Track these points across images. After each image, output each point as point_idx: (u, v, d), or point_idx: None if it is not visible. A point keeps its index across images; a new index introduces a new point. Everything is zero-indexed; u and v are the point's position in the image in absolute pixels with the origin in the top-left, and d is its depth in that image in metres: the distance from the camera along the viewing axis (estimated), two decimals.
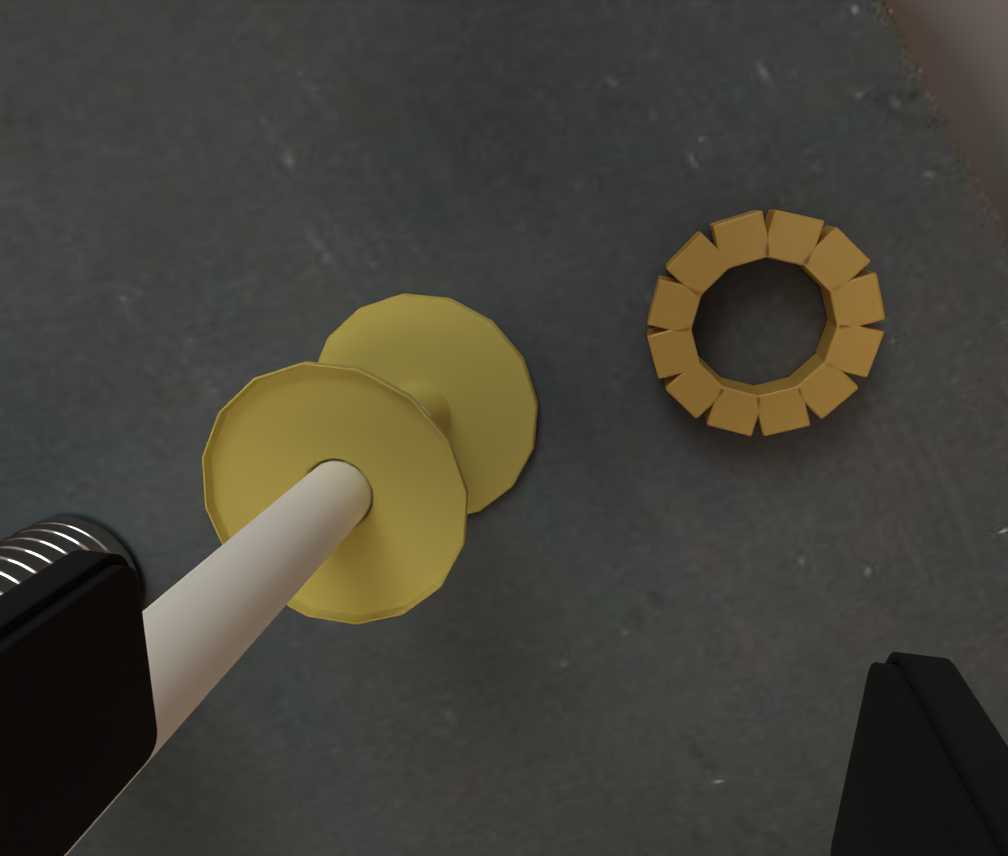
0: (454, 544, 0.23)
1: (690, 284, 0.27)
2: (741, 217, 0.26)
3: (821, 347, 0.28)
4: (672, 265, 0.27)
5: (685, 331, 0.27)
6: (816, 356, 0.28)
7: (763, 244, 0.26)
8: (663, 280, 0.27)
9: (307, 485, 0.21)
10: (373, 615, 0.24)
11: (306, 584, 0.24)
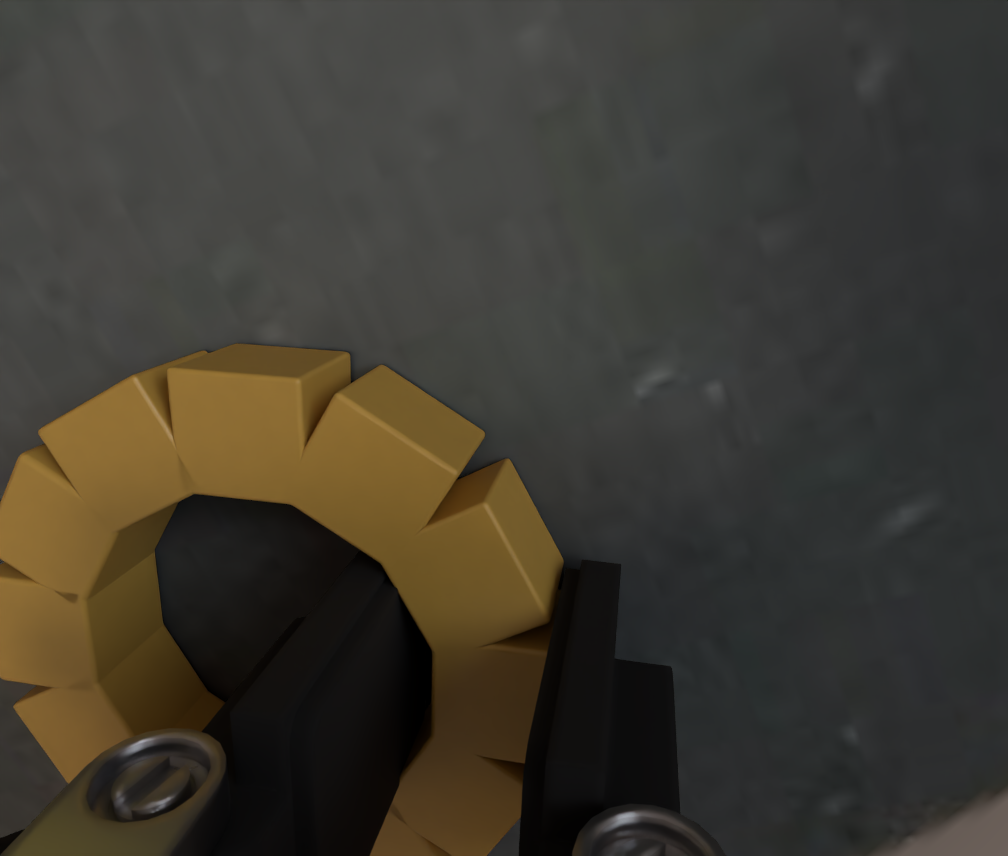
0: None
1: (309, 470, 0.09)
2: (524, 571, 0.09)
3: None
4: (347, 409, 0.08)
5: (182, 479, 0.09)
6: None
7: (463, 639, 0.09)
8: (303, 388, 0.09)
9: None
10: None
11: None
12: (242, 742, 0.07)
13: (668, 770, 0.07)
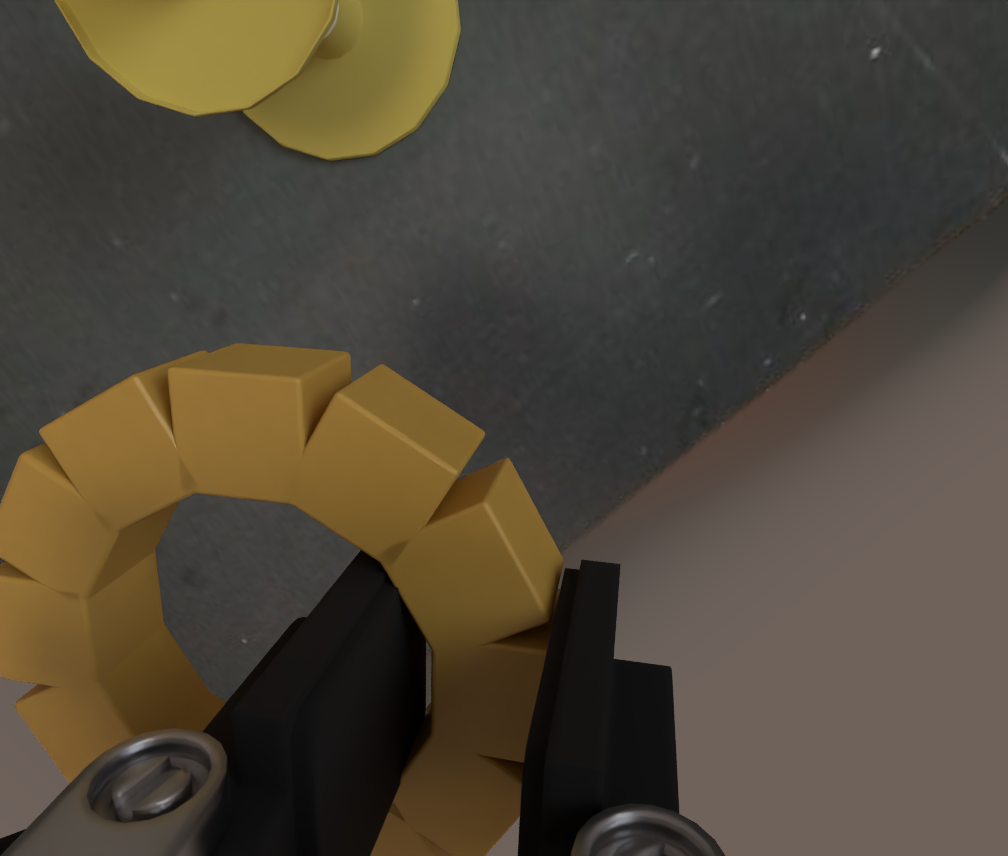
0: (190, 104, 0.21)
1: (310, 469, 0.09)
2: (523, 571, 0.09)
3: None
4: (347, 409, 0.09)
5: (183, 479, 0.09)
6: None
7: (462, 638, 0.09)
8: (303, 388, 0.09)
9: None
10: (73, 19, 0.21)
11: None
12: (243, 742, 0.07)
13: (667, 770, 0.07)
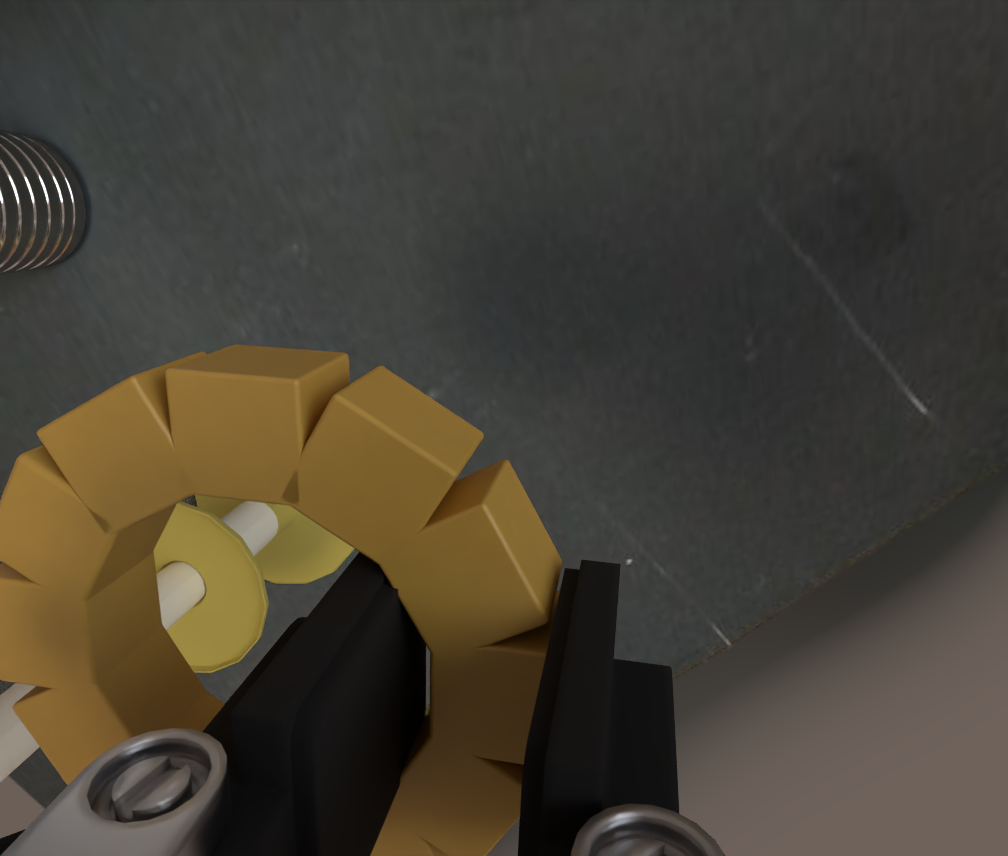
0: None
1: (308, 471, 0.09)
2: (522, 573, 0.09)
3: None
4: (346, 411, 0.08)
5: (181, 481, 0.09)
6: None
7: (461, 641, 0.09)
8: (301, 390, 0.09)
9: (177, 605, 0.31)
10: None
11: None
12: (243, 742, 0.07)
13: (667, 770, 0.07)
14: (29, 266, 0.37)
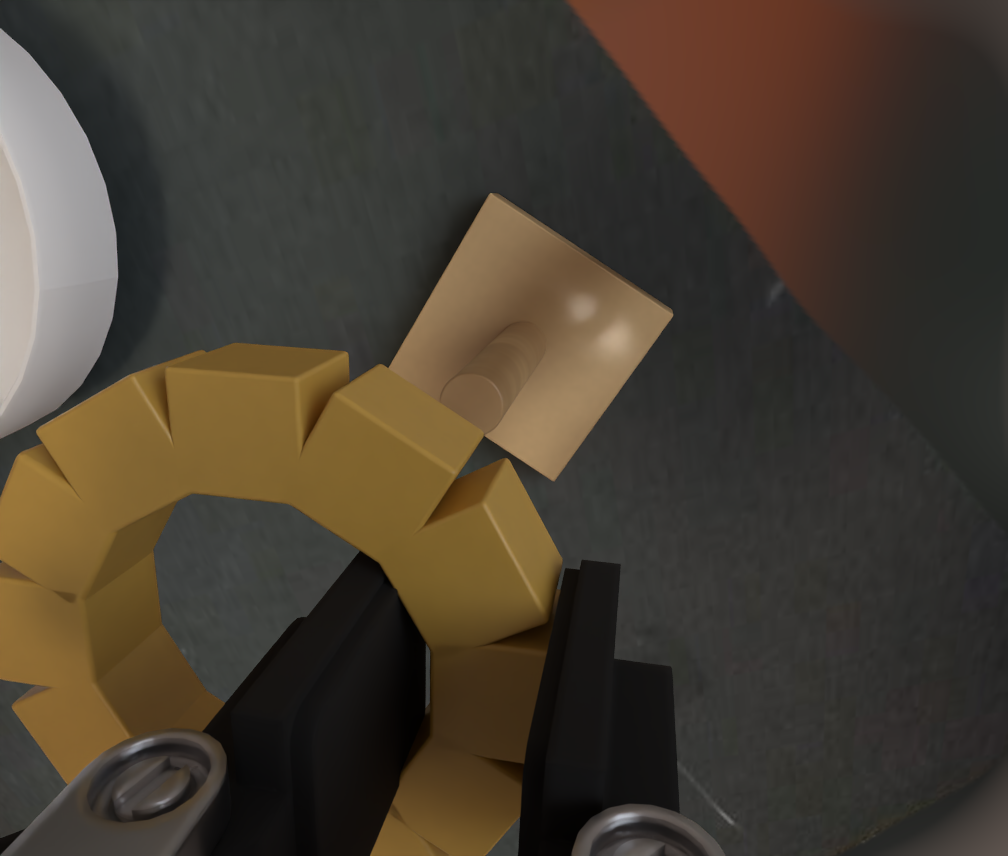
0: None
1: (307, 470, 0.09)
2: (522, 571, 0.09)
3: None
4: (345, 409, 0.08)
5: (180, 479, 0.09)
6: None
7: (462, 639, 0.09)
8: (301, 388, 0.09)
9: None
10: None
11: None
12: (242, 742, 0.07)
13: (668, 770, 0.07)
14: None
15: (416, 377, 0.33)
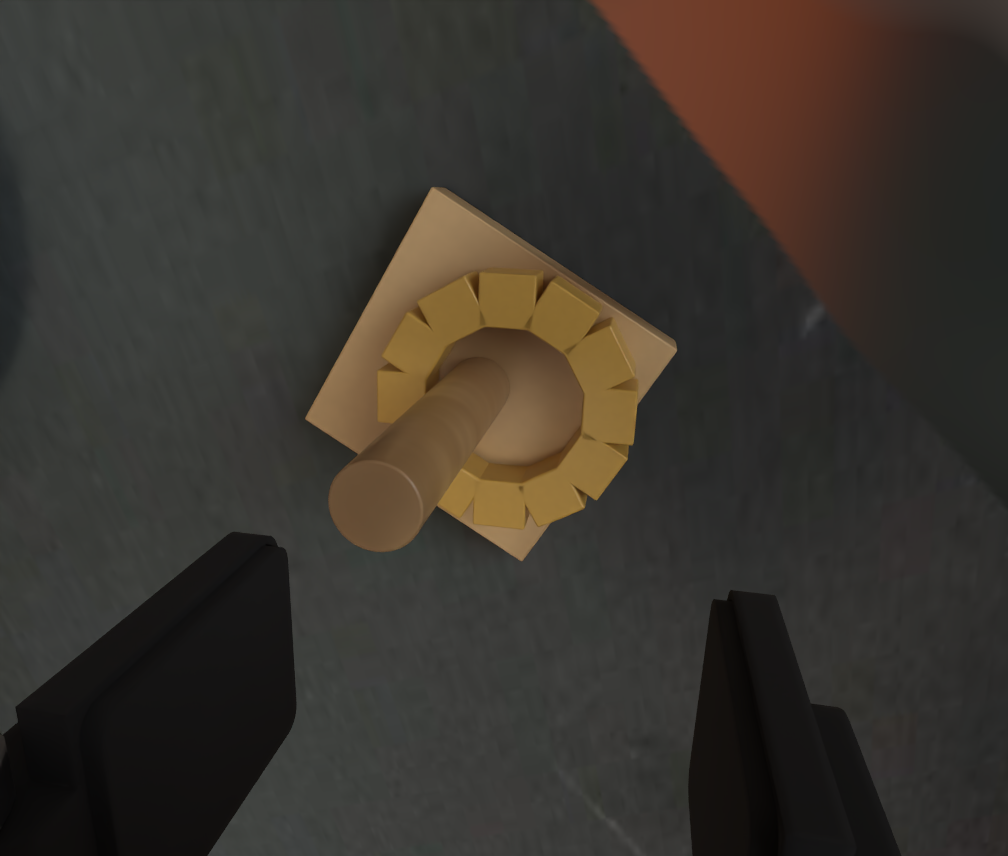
0: None
1: (537, 314, 0.22)
2: (624, 355, 0.22)
3: (496, 469, 0.24)
4: (556, 287, 0.21)
5: (480, 320, 0.22)
6: (485, 466, 0.25)
7: (597, 386, 0.22)
8: (536, 280, 0.22)
9: None
10: None
11: None
12: (30, 737, 0.07)
13: (881, 832, 0.07)
14: None
15: (342, 427, 0.26)
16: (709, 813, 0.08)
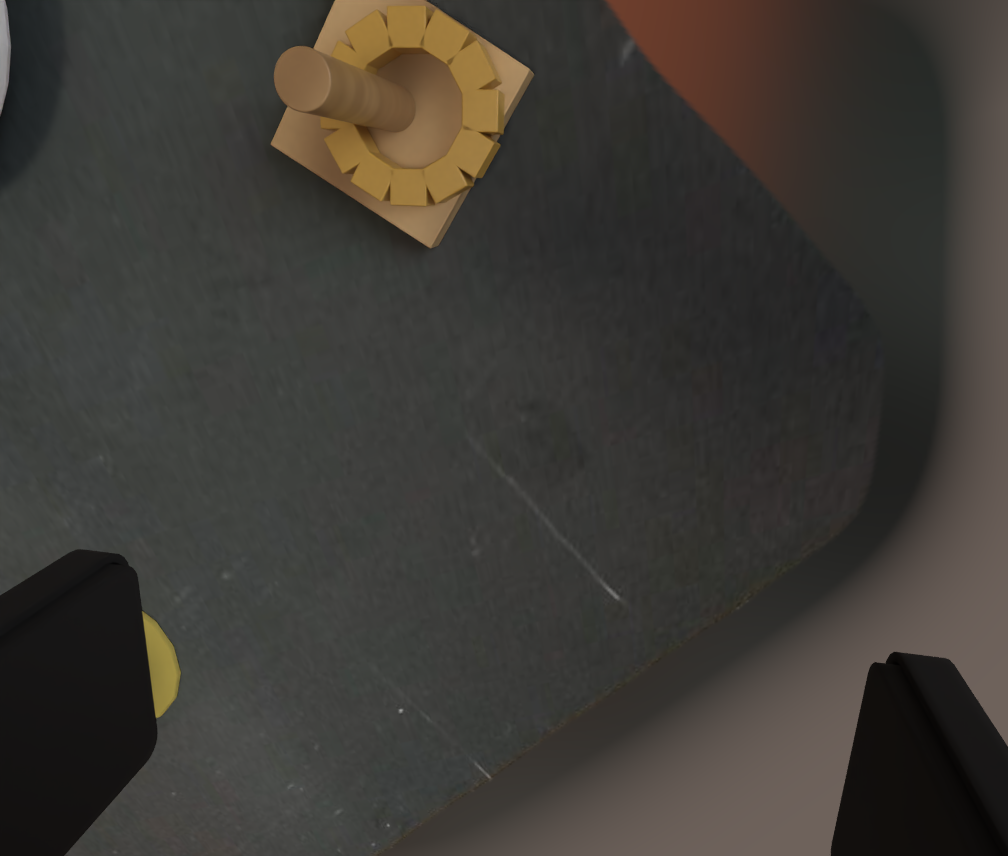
0: None
1: (427, 34, 0.31)
2: (488, 63, 0.31)
3: None
4: (439, 13, 0.31)
5: (389, 42, 0.32)
6: (399, 167, 0.34)
7: (470, 88, 0.32)
8: (426, 9, 0.31)
9: None
10: None
11: None
12: None
13: None
14: None
15: (298, 149, 0.35)
16: None
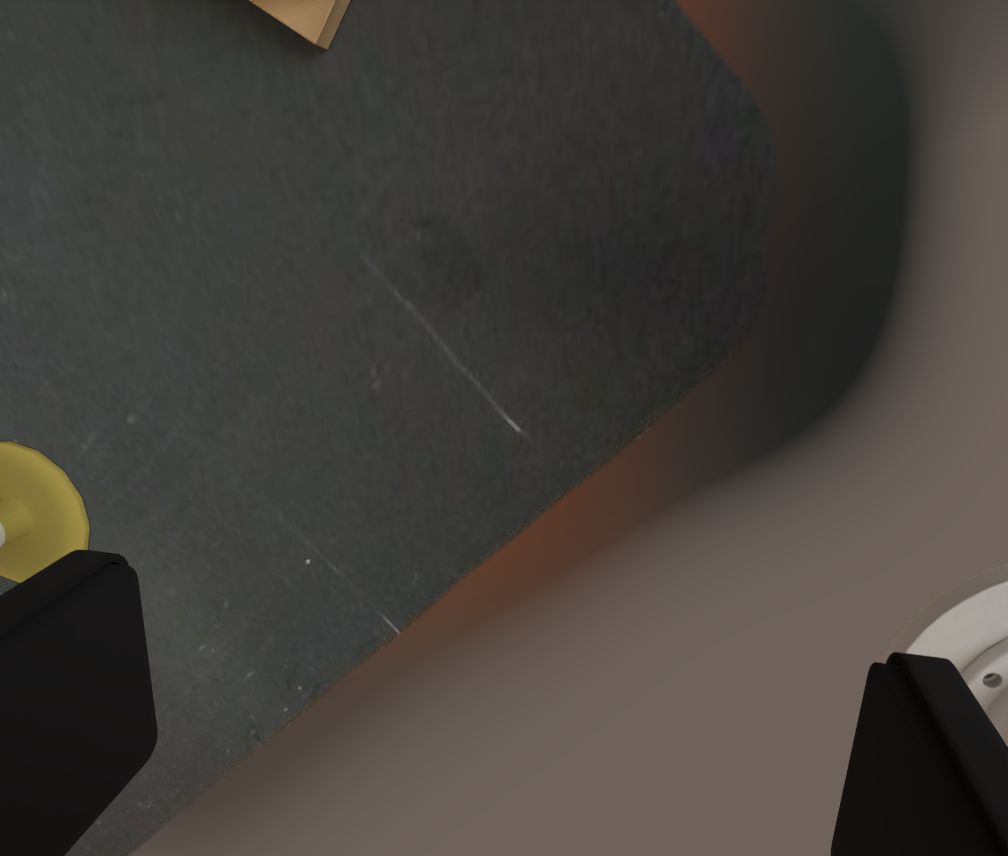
0: None
1: None
2: None
3: None
4: None
5: None
6: None
7: None
8: None
9: None
10: None
11: None
12: None
13: None
14: None
15: None
16: None
